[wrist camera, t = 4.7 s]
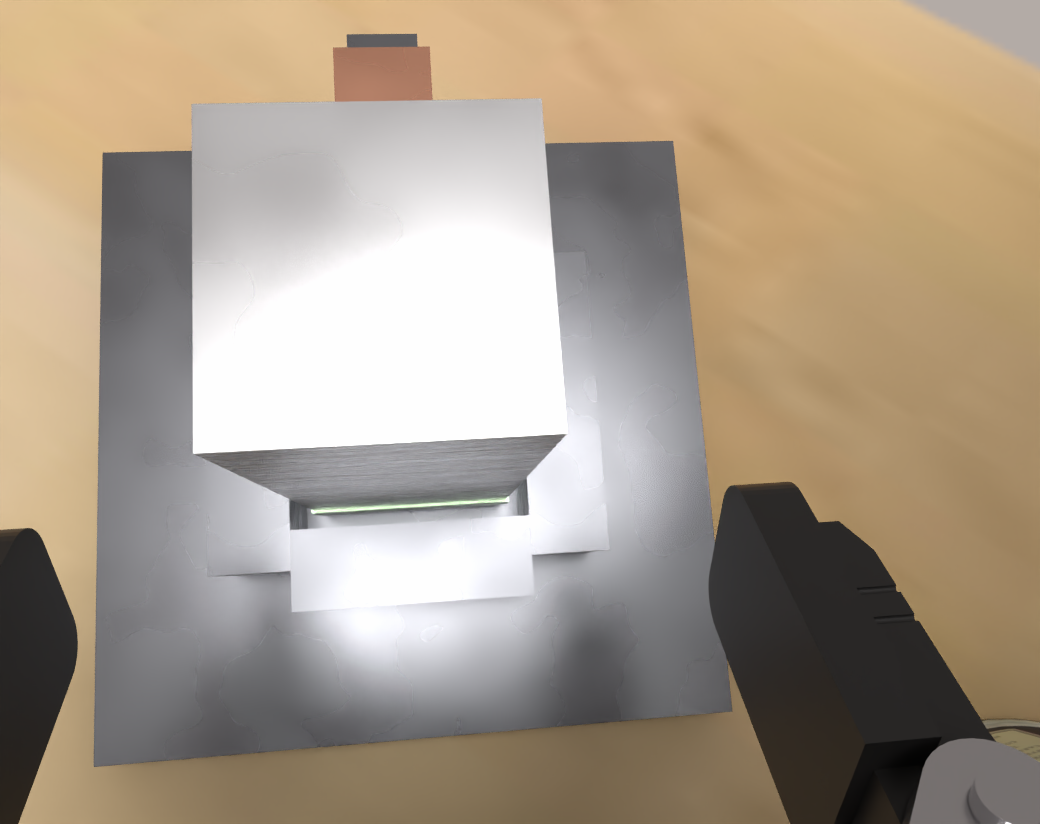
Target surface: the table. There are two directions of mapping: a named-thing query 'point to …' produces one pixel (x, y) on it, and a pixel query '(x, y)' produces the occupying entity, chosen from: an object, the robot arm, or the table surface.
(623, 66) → the table surface
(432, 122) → the steel column
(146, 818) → the table surface
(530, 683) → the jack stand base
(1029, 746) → the coffee can
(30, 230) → the table surface
